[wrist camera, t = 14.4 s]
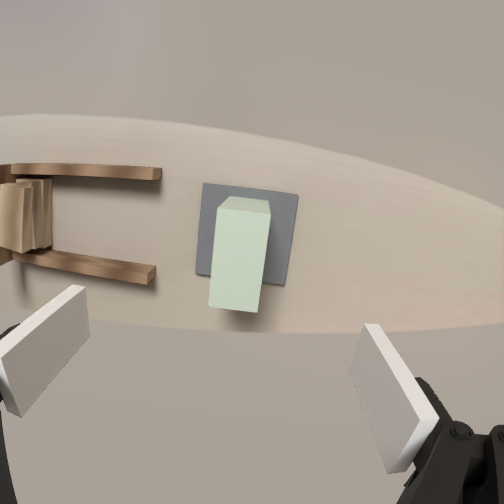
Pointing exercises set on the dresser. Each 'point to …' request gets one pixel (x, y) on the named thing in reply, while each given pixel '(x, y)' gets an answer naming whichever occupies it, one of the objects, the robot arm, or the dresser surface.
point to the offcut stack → (26, 214)
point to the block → (239, 253)
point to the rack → (71, 260)
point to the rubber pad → (277, 237)
